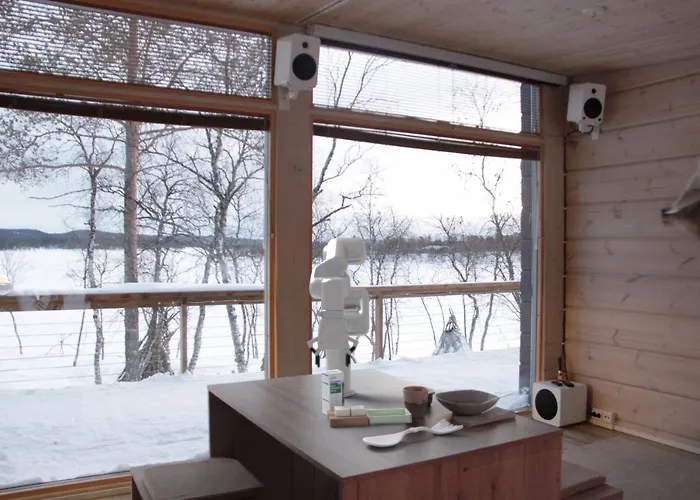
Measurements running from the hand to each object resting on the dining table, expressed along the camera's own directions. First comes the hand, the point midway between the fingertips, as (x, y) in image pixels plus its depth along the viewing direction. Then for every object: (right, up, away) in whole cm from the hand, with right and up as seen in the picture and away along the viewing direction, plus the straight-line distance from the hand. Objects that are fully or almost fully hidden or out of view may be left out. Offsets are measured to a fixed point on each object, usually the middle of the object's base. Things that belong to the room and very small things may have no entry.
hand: (332, 366), depth 211 cm
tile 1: (+3, -14, -9) cm, 17 cm away
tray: (+18, -16, -7) cm, 25 cm away
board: (+5, -16, -9) cm, 19 cm away
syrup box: (0, -16, +1) cm, 16 cm away
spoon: (+24, -17, -27) cm, 40 cm away
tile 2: (+8, -14, -8) cm, 18 cm away
